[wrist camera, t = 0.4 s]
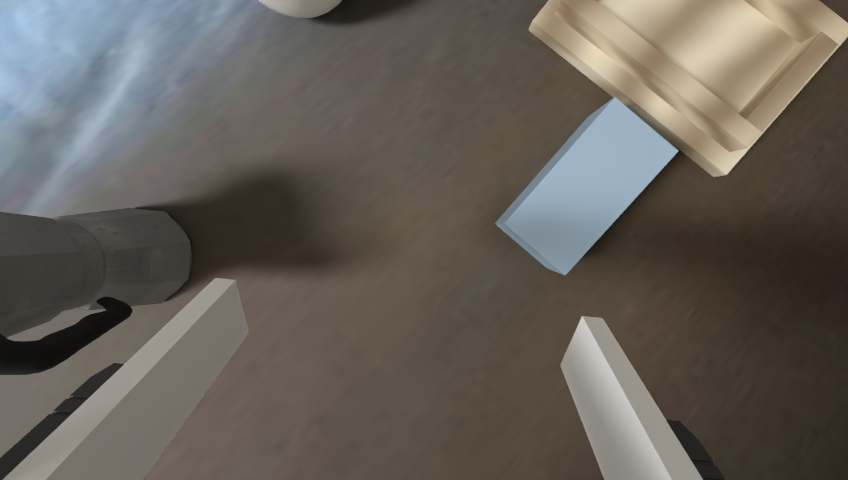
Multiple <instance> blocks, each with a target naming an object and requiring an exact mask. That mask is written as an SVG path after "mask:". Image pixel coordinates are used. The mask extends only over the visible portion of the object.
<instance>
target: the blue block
mask: <svg viewBox="0 0 848 480" xmlns="http://www.w3.org/2000/svg"><path fill="white" fill-rule="evenodd" d="M677 152H678V150H677V149H676V148H675V147H674V146H672V145H671V144H670V143H669V142H668V141H666V140H665V139H664V138H663V137H662V136H661V135H659V134H658V133H657V132H656V131H655V130H653V129H652V128H651V127H650V126H649V125H648V124H646V123H645V122H644V121H643V120H642V119H640V118H639V117H638V116H637V115H636V114H635V113H633V112H632V111H631V110H630V109H629V108H627V107H626V106H625V105H624V104H623V103H621V102H620V101H619V100H618V99H617V98H616V97H614V98H613V99H612V100H610V101H609V102H608V103H606V104H605V105H603V106H602V107H601V108H599V109H598V110H597V111H595V112H594V113H592V114H591V115H590V116H588V117H587V119H586V120H585V121H584V122H583V123H582V124H581V125H580V127H579V128H578V129H577V130H576V131H575V132H574V133H573V135H572V136H571V137H570V138H569V139H568V140H567V141H566V143H565V144H564V145H563V146H562V147H561V148H560V149H559V151H558V152H557V153H556V154H555V155H554V156H553V157H552V159H551V160H550V161H549V162H548V163H547V164H546V165H545V167H544V168H543V169H542V170H541V171H540V172H539V173H538V175H537V176H536V177H535V178H534V179H533V180H532V182H531V183H530V184H529V185H528V186H527V187H526V188H525V190H524V191H523V192H522V193H521V194H520V195H519V196H518V198H517V199H516V200H515V201H514V202H513V203H512V204H511V206H510V207H509V208H508V209H507V210H506V211H505V212H504V214H503V215H502V216H501V217H500V218H499V219H498V220H497V222H496V223H495V224H496V225H497V226H498V227H499V228H501V229H502V230H503V231H504V232H505V233H506V234H508V235H509V236H510V237H511V238H512V239H513V240H515V241H516V242H517V243H518V244H519V245H520V246H522V247H523V248H524V249H525V250H526V251H527V252H529V253H530V254H531V255H532V256H533V257H534V258H536V259H537V260H538V261H539V262H540V263H542V264H543V265H544V266H545V267H546V268H548V269H551V270H553V271H555V272H558V273H560V274H562V275H566V274H567V273H568V272H569V271H570V270H571V269H572V268H573V266H574V265H575V264H576V263H577V262H578V261H579V260H580V259H581V258H582V257H583V255H584V254H585V253H586V252H587V251H588V250H589V249H590V248H591V247H592V246H593V244H594V243H595V242H596V241H597V240H598V239H599V238H600V237H601V236H602V235H603V233H604V232H605V231H606V230H607V229H608V228H609V227H610V226H611V225H612V224H613V223H614V221H615V220H616V219H617V218H618V217H619V216H620V215H621V214H622V213H623V212H624V210H625V209H626V208H627V207H628V206H629V205H630V204H631V203H632V202H633V201H634V199H635V198H636V197H637V196H638V195H639V194H640V193H641V192H642V191H643V190H644V188H645V187H646V186H647V185H648V184H649V183H650V182H651V181H652V180H653V179H654V177H655V176H656V175H657V174H658V173H659V172H660V171H661V170H662V169H663V168H664V166H665V165H666V164H667V163H668V162H669V161H670V160H671V159H672V158H673V157H674V156H675V154H676V153H677Z"/></svg>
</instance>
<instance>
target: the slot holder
mask: <svg viewBox="0 0 848 480" xmlns="http://www.w3.org/2000/svg"><path fill="white" fill-rule="evenodd" d="M529 31H530V32H531V33H532V34H534V35H535V36H536V37H537V38H539V39H540V40H541V41H543V42H544V43H545V44H546V45H548V46H549V47H550V48H551V49H553V50H554V51H555V52H556V53H558V54H559V55H560V56H561V57H563V58H564V59H565V60H567V61H568V62H569V63H570V64H572V65H573V66H574V67H575V68H577V69H578V70H579V71H580V72H582V73H583V74H584V75H585V76H587V77H588V78H589V79H591V80H592V81H593V82H594V83H596V84H597V85H598V86H599V87H601V88H602V89H603V90H604V91H606V92H607V93H608V94H609V95H611V96H612V97H613V98H614V97H616V98H617V99H618V100H619V101H620V102H621V103H623V104H624V105H625V106H626V107H627V108H629V109H630V110H631V111H632V112H633V113H635V114H636V115H637V116H638V117H639V118H640V119H642V120H643V121H644V122H645V123H646V124H648V125H649V126H650V127H651V128H652V129H654V130H655V131H656V132H657V133H659V134H660V135H661V136H662V137H664V138H665V139H666V140H668V141H669V142H670V143H671V144H673V145H674V146H675V147H676V148H678V149H679V150H680V151H681V152H683V153H684V154H685V155H686V156H688V157H689V158H690V159H692V160H693V161H694V162H695V163H697V164H698V165H699V166H700V167H702V168H703V169H704V170H705V171H707V172H708V173H709V174H710V175H712V176H713V177H717V176H723V175H727V174H728V173H729V171H730V170H731V169H732V168H733V167H734V166H735V165H736V163H737V162H738V161H739V160H740V159H741V158H742V157H743V155H744V154H745V153H746V152H747V151H748V150H749V149H750V148H751V146H752V145H753V144H754V143H755V142H756V141H757V140H758V138H759V137H760V136H761V135H762V134H763V133H764V132H765V130H766V129H767V128H768V127H769V126H770V125H771V124H772V122H773V121H774V120H775V119H776V118H777V117H778V116H779V115H780V113H781V112H782V111H783V110H784V109H785V108H786V107H787V105H788V104H789V103H790V102H791V101H792V100H793V99H794V97H795V96H796V95H797V94H798V93H799V92H800V91H801V89H802V88H803V87H804V86H805V85H806V84H807V83H808V82H809V80H810V79H811V78H812V77H813V76H814V75H815V74H816V72H817V71H818V70H819V69H820V68H821V67H822V66H823V64H824V63H825V62H826V61H827V60H828V59H829V58H830V56H831V55H832V54H833V53H834V52H835V51H836V50H837V49H838V47H839V46H840V45H841V44H842V43H843V42H844V41H845V39H846V38H847V37H848V23H847V22H846V21H845V20H843V19H842V18H841V17H839V16H838V15H837V14H836V13H834V12H833V11H832V10H830V9H829V8H828V7H827V6H825V5H824V4H823V3H821V2H820V1H819V0H549V1H548V2H547V3H546V4H545V6H544V7H543V8H542V10H541V11H540V12H539V13H538V15H537V16H536V17H535V18H534V20H533V21H532V23H531V25H530V27H529Z"/></svg>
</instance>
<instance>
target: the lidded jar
mask: <svg viewBox="0 0 848 480" xmlns="http://www.w3.org/2000/svg"><path fill="white" fill-rule="evenodd" d="M258 1H259V2H261V3H262V4H263V5H265V6H266V7H268V8H270V9H272V10H274V11H276V12H278V13H280V14H283V15H286V16H289V17H295V18H312V17H317V16H320V15H323V14H325V13H327V12H329V11H331V10H332V9H333V8H335V7H336V6H337V5H338V4H339V3H340V2H341V1H342V0H258Z"/></svg>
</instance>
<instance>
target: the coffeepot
mask: <svg viewBox="0 0 848 480" xmlns="http://www.w3.org/2000/svg"><path fill="white" fill-rule="evenodd" d="M191 264H192V251H191V246H190V240H189V238H188V237H187V235H186V233H185V232H184V230H183V229H182V227H181V226H180V225H179V224H178V223H177V222H176V221H175V220H173V219H172V218H171V217H170V216H169V215H168V214H167V212H163V211H153V210H143V209H133V208H126V209H118V210H110V211H101V212H93V213H85V214H76V215H68V216H60V217H55V218H53V219H52V218H45V217H37V216H28V215H20V214H12V213H4V212H0V375H27V374H33V373H39V372H43V371H45V370H48V369H50V368H53V367H54V366H56V365H58V364H60V363H61V362H63V361H65V360H66V359H68V358H69V357H70V356H72V355H73V354H75V353H76V352H77V351H79V350H80V349H82V348H83V347H85V346H86V345H88V344H89V343H91V342H92V341H94V340H95V339H97V338H99V337H100V336H101V335H103V334H104V333H106V332H107V331H109V330H110V329H112V328H113V327H115V326H116V325H118V324H119V323H121V322H122V321H124V320H125V319H127V318H128V317H130V315H131V313H132V308H131V307H130V306H137V305H147V304H157V303H162V302H163V301H164V300H166V299H167V298H168V297H169V296H170V295H172V294H173V293H175V292H176V291H178V290H179V288H180V287H181V286H182V285H183V284H184V283H185V282H186V281H187V280H188V279H189V274H190V270H191ZM96 309H106V311H103V312H99V313H94V314H90V315H88V316H86V317H84V318H82V319H81V320H80V321H79V322H78V323H76V324H75V325H73V326H70V327H68V328H65V329H63V330H60V331H57V332H55V333H52V334H49V335H47V336H45V337H44V338H42V339H40V340H37V341H26V342H21V341H12V340H9V339H7V338H6V337H9V336H11V335H14V334H17V333H19V332H22V331H25V330H27V329H30V328H33V327H35V326H38V325H41V324H43V323H46V322H49V321H50V320H52V319H53V318H54V317H56V316H57V315H58V314H60V313H61V312H62V311H65V310H96Z"/></svg>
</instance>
